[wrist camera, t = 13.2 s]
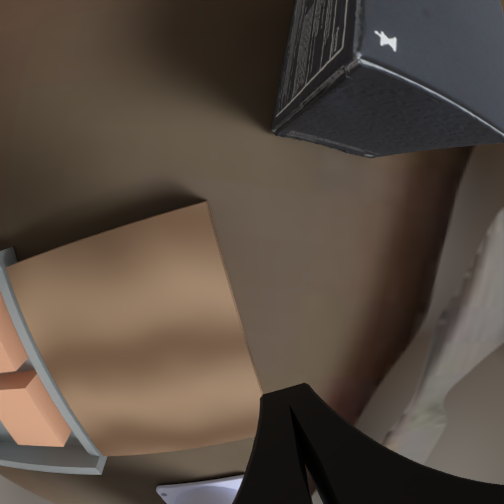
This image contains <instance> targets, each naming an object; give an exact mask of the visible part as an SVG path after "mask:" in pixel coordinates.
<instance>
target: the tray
mask: <svg viewBox="0 0 504 504" xmlns="http://www.w3.org/2000/svg"><path fill="white" fill-rule="evenodd" d="M17 262H18V261H17V257H16V254H15V251H14V247H10V248H7V249H4V250H2V251H0V291H1V294H2V297H3V299H4V302H5V305H6V307H7V310H8V312H9V315H10V317H11V319H12V322H13V324H14V327H15V329H16V331H17V333H18V336H19V338H20V340H21V342H22V344H23V346H24V348H25V350H26V353H27V355H28V357H29V358H28V359H27V360H26V361H25V362H24V363H23V364H22V365H21V366H20V367H19V368H18V369H17V370H16V371H12V372H3V373H0V374H4V373H13V372H21V371H29V370H36V372H37V374H38V376H39V378H40V379H41V381H42V383H43V385H44V387H45V388H46V390H47V392H48V393H49V395H50V397H51V399H52V400H53V402H54V403H55V405H56V407H57V408H58V410H59V411H60V413H61V415H62V416H63V418H64V419H65V421H66V422H67V424H68V425H69V427H70V428H71V430H72V431H71V433H70V435H69V437H68V439H67V441H66V443H65V445H64V447H53V446H31V445H18V444H17V443H16V441H15V440H14V439H13V437H12V436H11V435H10V433H9V432H8V430H7V429H6V428H5V426H4V425H3V423H2V422H1V420H0V465H2V466H8V467H14V468H20V469H27V470H35V471H44V472H54V473H67V474H89V475H102V472H103V469H104V466H105V462H106V459H107V456H103V455H102V454H101V452H100V451H99V450H98V448H97V447H96V446H95V444H94V443H93V441H92V440H91V439H90V437H89V436H88V434H87V433H86V431H85V430H84V428H83V427H82V425H81V424H80V422H79V421H78V419H77V418H76V416H75V415H74V413H73V411H72V410H71V408H70V407H69V405H68V403H67V402H66V400H65V398H64V397H63V395H62V393H61V392H60V390H59V388H58V386H57V385H56V383H55V381H54V379H53V377H52V375H51V374H50V372H49V370H48V368H47V366H46V364H45V362H44V360H43V358H42V356H41V354H40V352H39V350H38V348H37V346H36V344H35V342H34V339H33V337H32V335H31V333H30V331H29V328H28V326H27V324H26V321H25V319H24V317H23V314H22V312H21V309H20V307H19V304H18V302H17V299H16V296H15V294H14V291H13V288H12V285H11V282H10V280H9V277H8V274H7V271H6V267H8V266H10V265H13V264H15V263H17Z"/></svg>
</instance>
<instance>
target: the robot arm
mask: <svg viewBox="0 0 504 504" xmlns="http://www.w3.org/2000/svg"><path fill="white" fill-rule="evenodd" d="M305 465H306V467H307V469H308V471H309V474H310V476H311V478H312V480H313V482H314V485H315V487H316V489H317V491H318V493H319V495H320V497H321V499H322V502H323V504H504V485H499V484H491V483H485V482H479V481H474V480H470V479H466V478H461V477H457V476H454V475H451V474H447V473H444V472H442V471H438V470H435V469H432V468H430V467H427V466H424V465H421V464H419V463H417V462H415V461H412V460H410V459H408V458H406V457H403V456H401V455H399V454H398V453H396V452H394V451H392V450H390V449H388V448H386V447H384V446H383V445H381V444H379V443H378V442H376V441H374V440H373V439H371V438H370V437H368V436H367V435H365V434H364V433H362V432H361V431H359V430H358V429H357V428H355V427H354V426H353V425H351V424H350V423H349V422H347V421H346V420H345V419H344V418H342V417H341V416H340V415H339V414H337V413H336V412H335V411H334V410H333V409H332V408H331V407H329V406H328V405H327V404H326V403H325V402H324V401H323V400H322V399H321V398H320V397H319V396H318V395H317V394H316V393H315V392H314V390H313V389H312V388H311V387H310V386H309V385H308V384H306V383H302V384H299V385H295V386H292V387H289V388H285V389H282V390H278V391H274V392H271V393H267V394H263V395H262V396H261V398H260V411H259V419H258V426H257V431H256V435H255V440H254V444H253V448H252V452H251V455H250V459H249V462H248V465H247V468H246V471H245V474H244V475H239V476H233V477H227V478H221V479H215V480H208V481H201V482H193V483H184V484H173V485H160V486H157V487H156V492H157V493H158V494H159V495H160V496H161V498H162V499H163V500H164V501H165V502H166V503H167V504H313V503H312V498H311V493H310V488H309V483H308V477H307V472H306V467H305Z"/></svg>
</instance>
